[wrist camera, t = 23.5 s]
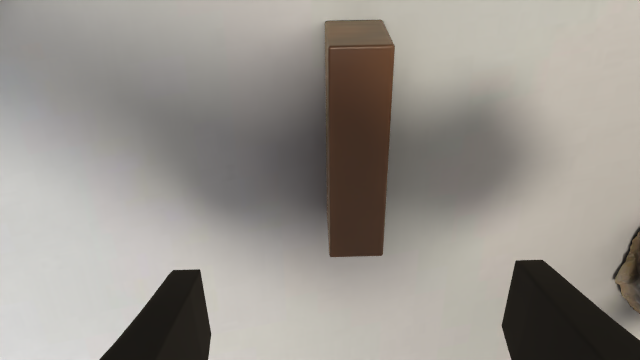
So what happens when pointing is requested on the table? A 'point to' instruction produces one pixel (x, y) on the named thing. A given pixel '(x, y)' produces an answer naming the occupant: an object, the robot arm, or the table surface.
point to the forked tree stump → (631, 275)
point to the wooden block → (357, 134)
